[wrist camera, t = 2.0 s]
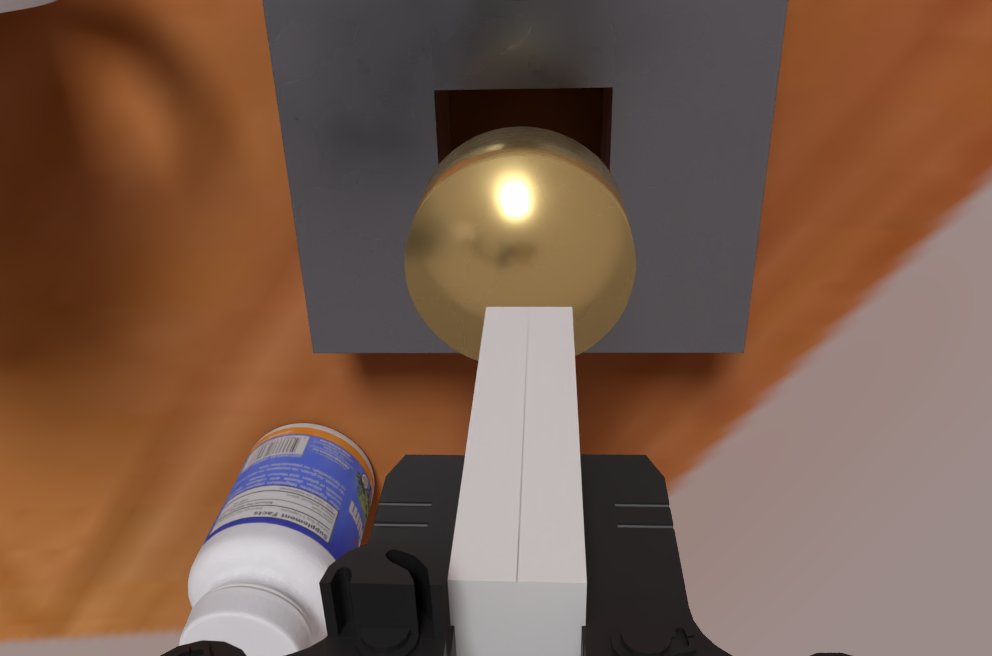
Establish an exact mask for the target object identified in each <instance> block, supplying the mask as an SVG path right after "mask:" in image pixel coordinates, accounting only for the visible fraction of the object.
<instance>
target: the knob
mask: <svg viewBox="0 0 992 656" xmlns="http://www.w3.org/2000/svg"><path fill="white" fill-rule="evenodd" d="M404 257H405V276H406V282H407V286H408V290H409V293H410V296H411V299H412V301H413V303H414V305H415V307H416V310H417V311H418V313H419V314H420V316H421V317H422V319H423V321H424V322H425V323H426V324H427V326H428V327H429V328H430V329H431V330H432V332H433V333H434V334H436V335H437V336H438V337H439V338H440V339H441V340H442V341H443V342H444V343H446V344H447V345H449V346H450V347H451V348H453V349H454V350H456V351H458V352H459V353H461V354H463V355H465V356H467V357H469V358H471V359H474V360H476V361H479V354H480V347H481V340H482V333H483V326H484V319H485V311H486V307H572V312H573V330H574V349H575V356H577V355H579V354H580V353H582V352H584V351H586V350H587V349H589V348H590V347H592V346H593V345H594V344H596V343H597V342H598V341H600V340H601V339H602V338H603V337H604V336H605V335H606V334H607V333H608V332H609V331H610V330H611V328H612V327H613V326H614V325H615V323H616V322H617V321H618V319H619V318H620V316H621V314H622V313H623V311H624V309H625V308H626V305H627V303H628V301H629V298H630V296H631V292H632V289H633V285H634V280H635V272H636V254H635V248H634V241H633V237H632V233H631V229H630V225H629V221H628V217H627V213H626V209H625V205H624V202H623V199H622V195H621V192H620V190H619V188H618V185H617V183H616V181H615V179H614V177H613V176H612V174H611V173H610V171H609V170H608V168H607V167H606V166H605V165H604V164H603V162H602V161H601V160H600V159H599V158H598V157H597V156H596V155H595V154H594V153H592V152H591V151H590V150H589V149H588V148H586V147H585V146H583V145H582V144H580V143H579V142H577V141H576V140H574V139H572V138H570V137H567V136H565V135H563V134H561V133H557V132H554V131H551V130H548V129H542V128H537V127H523V126H518V127H506V128H501V129H496V130H492V131H489V132H486V133H483V134H480V135H478V136H476V137H474V138H472V139H470V140H468V141H466V142H464V143H463V144H461V145H460V146H459V147H457V148H456V149H454V150H453V151H452V152H451V153H450V154H449V155H448V156H447V157H445V158H444V159H443V161H442V162H441V163H440V164H439V165H438V167H437V168H436V169H435V171H434V172H433V174H432V175H431V177H430V179H429V180H428V182H427V185H426V187H425V189H424V191H423V194H422V197H421V199H420V202H419V205H418V208H417V211H416V214H415V217H414V219H413V222H412V225H411V228H410V231H409V235H408V238H407V242H406V249H405V256H404Z"/></svg>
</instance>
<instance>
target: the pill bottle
mask: <svg viewBox="0 0 992 656" xmlns="http://www.w3.org/2000/svg"><path fill="white" fill-rule="evenodd" d="M374 485H375V482H374V474H373V470H372V467H371V464H370V462H369V460H368V458H367V457H366V455H365V454H364V452H363V451H362V450H361V449H360V448H359V446H358V445H357V444H355V443H354V442H353V441H352V440H350V439H349V438H347V437H346V436H344V435H343V434H341V433H339V432H337V431H335V430H333V429H331V428H328V427H325V426H321V425H317V424H309V423H296V424H289V425H285V426H282V427H279V428H277V429H275V430H273V431H271V432H269V433H267V434H266V435H265V436H263V437H262V438H261V439H260V440H259V441H258V442H257V444H256V445H255V446H254V447H253V449H252V450H251V452H250V454H249V456H248V458H247V460H246V462H245V464H244V465H243V467H242V469H241V471H240V473H239V476H238V478H237V480H236V482H235V484H234V486H233V488H232V490H231V491H230V493H229V495H228V497H227V499H226V501H225V503H224V505H223V507H222V509H221V511H220V513H219V515H218V517H217V518H216V520H215V522H214V524H213V526H212V528H211V530H210V532H209V534H208V536H207V538H206V540H205V541H204V543H203V545H202V547H201V549H200V551H199V553H198V555H197V557H196V559H195V561H194V563H193V565H192V568H191V570H190V574H189V579H188V595H189V600H190V603H191V606H192V610H191V613H190V615H189V618H188V621H187V623H186V625H185V627H184V630H183V632H182V634H181V637H180V642H179V646H181V645H185V644H189V643H193V642H197V641H202V640H207V641H225V642H227V643H229V644H231V645H233V646H235V647H238V648H240V649H242V650H243V651H244V653H245V654H246V655H247V656H284V655H288V654H292V653H295V652H297V651H300V650H303V649H306V648H309V647H310V646H312V645H314V644H316V643H318V642H319V641H321V640H323V639H324V638H325V637H326V636H327V629H326V622H325V616H324V610H323V604H322V598H321V592H320V586H319V582H320V580H321V579H322V577H323V575H324V573H325V572H326V570H327V568H328V567H329V566H330V565H331V564H332V563H333V562H335V561H336V560H337V559H338V558H340V557H341V556H342V555H343V554H345V553H346V552H348V551H351V550H353V549H356V548H358V547H360V544H361V540H362V536H363V533H364V529H365V525H366V522H367V518H368V514H369V510H370V507H371V503H372V499H373V494H374Z"/></svg>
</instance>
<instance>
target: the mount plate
mask: <svg viewBox="0 0 992 656" xmlns="http://www.w3.org/2000/svg"><path fill="white" fill-rule="evenodd" d="M787 3H788V0H521V1H514V0H263V7H264V14H265V21H266V28H267V35H268V42H269V49H270V56H271V63H272V69H273V76H274V83H275V90H276V97H277V104H278V111H279V118H280V125H281V132H282V139H283V146H284V153H285V160H286V166H287V173H288V180H289V187H290V194H291V201H292V208H293V215H294V222H295V229H296V236H297V243H298V250H299V257H300V264H301V270H302V277H303V284H304V291H305V298H306V305H307V312H308V319H309V326H310V333H311V340H312V347H313V353H459V352H458V351H456V350H454V349H453V348H451V347H450V346H449V345H447V344H446V343H444V342H443V341H442V340H441V339H440V338H439V337H438V336H437V335H436V334H434V333H433V332H432V330H431V329H430V328H429V327H428V326H427V324H426V323H425V322H424V321H423V319H422V317H421V316H420V314H419V313H418V311H417V310H416V307H415V305H414V303H413V301H412V299H411V296H410V293H409V290H408V286H407V282H406V276H405V257H404V256H405V249H406V242H407V238H408V235H409V231H410V228H411V225H412V222H413V219H414V217H415V214H416V211H417V208H418V205H419V202H420V199H421V197H422V194H423V191H424V189H425V187H426V185H427V182H428V180H429V179H430V177H431V175H432V174H433V172H434V171H435V169H436V168H437V167H438V165H439V164H440V163H441V162H442V161H443V159H444V158H445V157H447V156H448V155H449V154H450V153H451V152H452V147H451V128H450V108H449V90H480V89H541V88H602V87H603V89H602V121H601V152H600V160H601V161H602V162H603V164H604V165H605V166H606V167H607V168H608V170H609V171H610V173H611V174H612V176H613V177H614V179H615V181H616V183H617V185H618V188H619V190H620V192H621V195H622V199H623V202H624V205H625V209H626V213H627V217H628V221H629V225H630V229H631V233H632V237H633V241H634V248H635V254H636V272H635V280H634V285H633V289H632V292H631V296H630V298H629V301H628V303H627V305H626V308H625V309H624V311H623V313H622V314H621V316H620V318H619V319H618V321H617V322H616V323H615V325H614V326H613V327H612V328H611V330H610V331H609V332H608V333H607V334H606V335H605V336H604V337H603V338H602V339H601V340H600V341H598V342H597V343H596V344H594V345H593V346H592V347H590V348H589V349H587V350H586V351H584V352H582V353H744V347H745V339H746V331H747V323H748V315H749V307H750V299H751V291H752V283H753V275H754V267H755V259H756V251H757V243H758V235H759V227H760V219H761V211H762V203H763V195H764V187H765V179H766V171H767V163H768V155H769V147H770V139H771V131H772V123H773V115H774V107H775V99H776V91H777V83H778V75H779V67H780V59H781V51H782V43H783V35H784V27H785V19H786V11H787Z"/></svg>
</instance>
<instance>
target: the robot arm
mask: <svg viewBox="0 0 992 656" xmlns="http://www.w3.org/2000/svg"><path fill="white" fill-rule="evenodd" d="M379 503H380V504H379V506H378V509H377V512H376V516H375V520H374V527H372V531H371V535H370V539H369V542H368V544H366V545H363V546H361V547H358V548H356V549H353V550H351V551H348V552H346V553H345V554H343V555H342V556H341V557H340V558H338V559H337V560H336V561H335V562H333V563H332V564H331V565H330V566H329V567H328V568H327V570H326V572H325V573H324V575H323V577H322V579H321V580H320V582H319V586H320V592H321V598H322V604H323V610H324V616H325V622H326V629H327V635H328V636H327V637H326V638H325V639H323V640H321V641H319V642H318V643H316V644H314V645H312V646H310V647H309V648H306V649H303V650H300V651H297V652H295V653H292V654H288V655H284V656H732V655H730V654H728V653H727V652H725V651H723V650H722V649H720V648H718V647H717V646H716V645H714V644H713V643H712V642H711V641H710V640H709V639H708V638H707V637H706V636H705V635H704V634H703V633H702V632H701V631H700V629H699V628H698V626H697V625H696V623H695V622H694V620H693V618H692V615H691V612H690V609H689V606H688V601H687V595H686V590H685V584H684V579H683V574H682V568H681V563H680V558H679V552H678V547H677V542H676V537H675V531H674V529H673V521H672V515H671V510H670V508H669V499H668V494H667V489H666V484H665V478H664V476H663V475H662V474H661V473H660V472H659V470H658V469H657V468H656V467H655V466H654V464H653V463H652V462H651V461H650V460H649V458H648V457H647V456H646V455H586V454H580V443H579V424H578V406H577V387H576V368H575V349H574V330H573V312H572V307H486V311H485V319H484V326H483V333H482V340H481V347H480V354H479V361H478V368H477V375H476V382H475V389H474V396H473V403H472V410H471V417H470V424H469V432H468V439H467V446H466V453H465V455H405V456H404V457H403V458H402V459H401V461H400V462H399V463H398V464H397V465H396V466H395V467H394V468H393V469H392V470H391V472H390V473H389V474H388V475H387V476H386V479H385V482H384V486H383V490H382V494H381V497H380V501H379ZM161 656H247V655H246V654H245V653H244V651H243V650H242V649H240V648H238V647H235V646H233V645H231V644H229V643H227V642H225V641H207V640H202V641H197V642H193V643H189V644H185V645H181V646H178V647H176V648H174V649H172V650H170V651H168V652H166V653H165V654H163V655H161ZM811 656H851V655H847V654H844V653H816V654H813V655H811Z"/></svg>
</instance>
